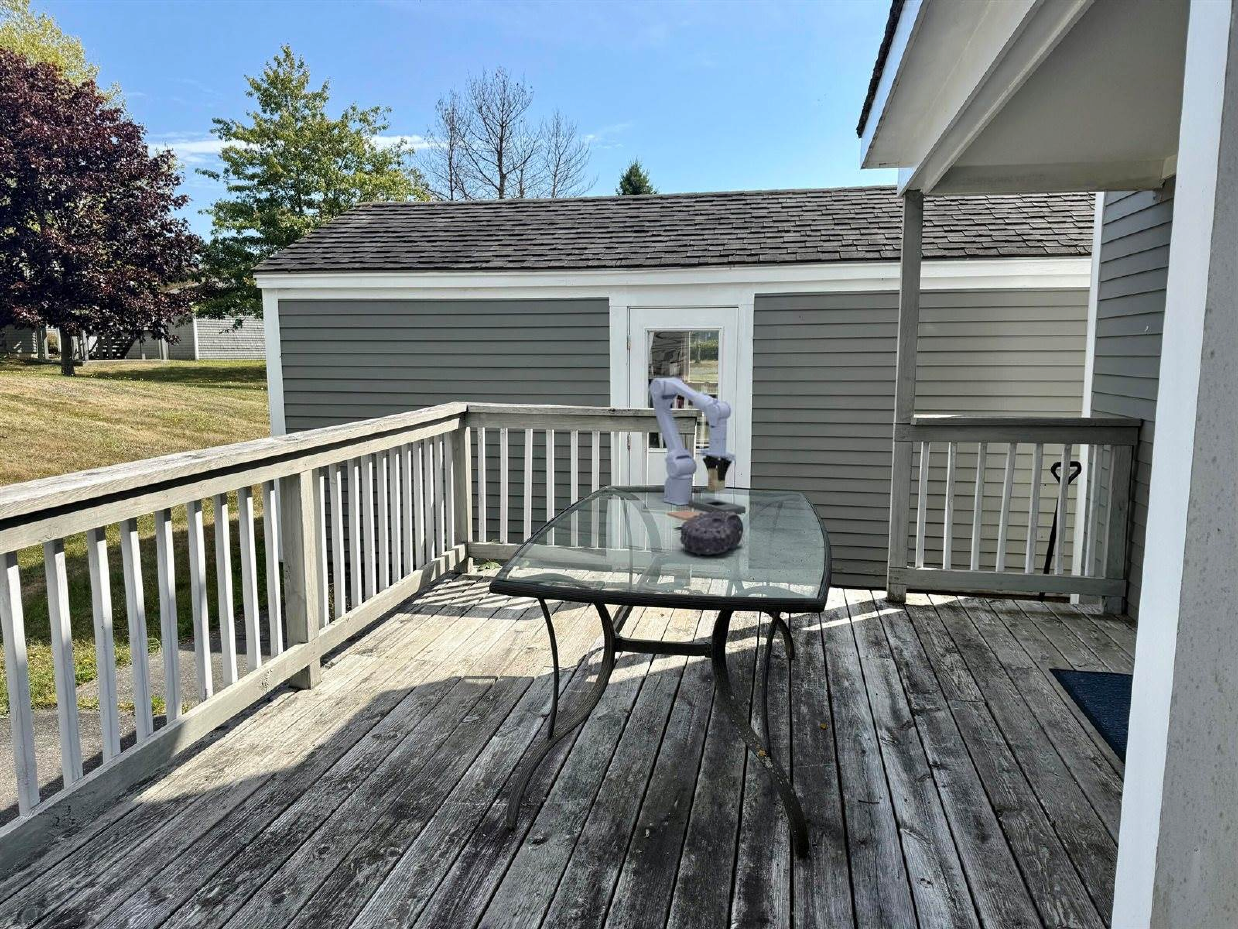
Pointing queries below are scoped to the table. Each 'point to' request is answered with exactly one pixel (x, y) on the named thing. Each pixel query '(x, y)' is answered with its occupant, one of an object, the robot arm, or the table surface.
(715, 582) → the table surface
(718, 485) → the peg
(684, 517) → the tile
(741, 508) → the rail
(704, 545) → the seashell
